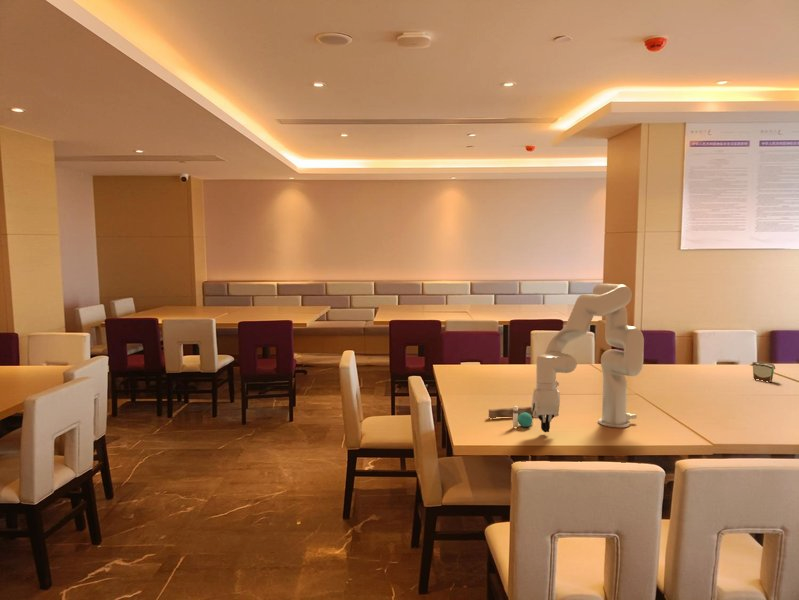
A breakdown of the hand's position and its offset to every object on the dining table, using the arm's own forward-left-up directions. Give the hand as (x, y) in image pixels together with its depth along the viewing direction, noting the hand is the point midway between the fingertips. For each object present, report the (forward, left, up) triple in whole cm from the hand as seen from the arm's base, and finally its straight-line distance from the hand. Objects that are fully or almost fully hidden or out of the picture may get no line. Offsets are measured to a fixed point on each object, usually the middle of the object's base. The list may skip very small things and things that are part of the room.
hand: (545, 431), depth 218 cm
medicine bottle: (-23, -41, -2) cm, 47 cm away
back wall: (+2, -25, -2) cm, 25 cm away
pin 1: (+8, -11, -2) cm, 14 cm away
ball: (+4, -11, +2) cm, 12 cm away
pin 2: (0, -12, 0) cm, 12 cm away
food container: (-164, -59, -2) cm, 174 cm away
